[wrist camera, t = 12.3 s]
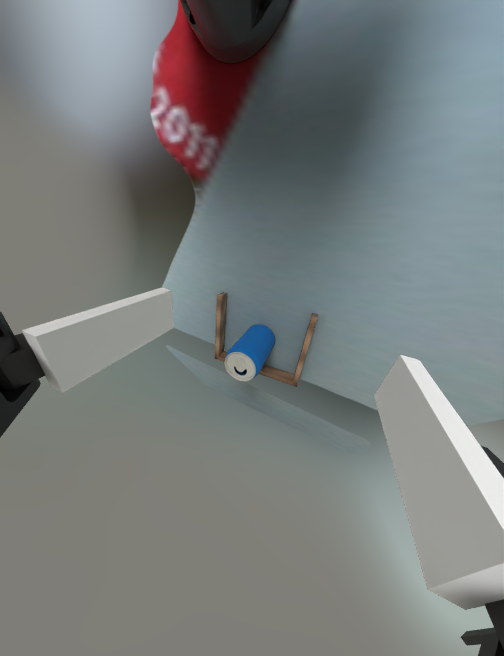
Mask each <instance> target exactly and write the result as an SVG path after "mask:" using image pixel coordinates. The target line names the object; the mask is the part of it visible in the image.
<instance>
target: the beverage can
mask: <svg viewBox="0 0 504 656" xmlns="http://www.w3.org/2000/svg"><path fill="white" fill-rule="evenodd" d="M274 343H275V337H274V334H273V332H272V331H271V330H270V329H269V328H268V327H266V326H264V325H260V324H258V325H253V326H252V327H250V328H249V329H248V330H247V331H246V333H245V334H244V335H243V336H242V337H241V338H240V339H239V340H238V341H237V342H236V343H235V344H234V345H233V347H232V348H231V349H230V350H229V351H228V352H227V355H226V359H225V368H226V370H227V372H228V373H229V374H230V375H231V376H232V377H233V378H235V379H237V380H239V381H249V380H251V379H252V378H254V377H255V376H257V375H258V373H259V372H260V370H261V368H262V366H263V364H264V363H265V361H266V359H267V357H268V355H269V353H270V351H271V350H272V348H273V346H274Z"/></svg>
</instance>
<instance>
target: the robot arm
mask: <svg viewBox="0 0 504 656" xmlns="http://www.w3.org/2000/svg"><path fill="white" fill-rule="evenodd" d="M289 2H290V0H181V3H182V7H183V10H184V12H185V15H186V17H187V20H188V22H189V24H190V26H191V28H192V30H193V31H194V33H195V35H196V36H197V38H198V39H199V41H200V42H201V44H202V45H203V47H204V48H205V50H206V51H207V52H208V53H209V54H210V55H211V56H212V57H214V58H215V59H217V60H219V61H221V62H224V63H238V62H241V61H244V60H246V59H248V58H250V57H251V56H253V55H254V54H255V53H257V52H258V51H259V50H260V49H261V48H262V47H263V46H264V45H265V44H266V42H267V41H268V40H269V39H270V37H271V36H272V35H273V33H274V32H275V30H276V29H277V27H278V25H279V23H280V22H281V20H282V18H283V16H284V14H285V11H286V9H287V7H288V4H289ZM172 328H174V320H173V306H172V293H171V290H168V289H165V288H159V289H156V290H152V291H149V292H146V293H143V294H139V295H136V296H133V297H129V298H126V299H123V300H120V301H116V302H113V303H110V304H107V305H103V306H100V307H97V308H93V309H90V310H87V311H84V312H80V313H77V314H74V315H71V316H67V317H64V318H61V319H57V320H55V321H51V322H48V323H44V324H41V325H38V326H35V327H31V328H28V329H25V330H22V332H23V333H22V334H18V335H14V334H13V332H12V331H11V329H10V327H9V325H8V323H7V322H6V320H5V318H4V316H3V314H2V313H1V312H0V437H1V436H2V435H3V433H4V432H5V431H6V429H7V428H8V427H9V426H10V424H11V423H12V422H13V420H14V419H15V418H16V416H17V415H18V413H20V411H21V410H22V409H23V407H24V406H25V405H26V403H27V402H28V401H29V400H30V398H31V397H32V396H33V394H34V393H35V392H36V391H37V389H38V388H39V386H40V381H39V378H41V377H43V376H46V378H47V380H48V382H49V383H50V385H51V386H52V387H54V388H55V389H57V390H59V391H61V392H65V391H67V390H68V389H70V388H72V387H73V386H75V385H77V384H78V383H80V382H82V381H84V380H85V379H87V378H89V377H90V376H92V375H94V374H95V373H97V372H99V371H101V370H102V369H104V368H106V367H108V366H109V365H111V364H113V363H114V362H116V361H118V360H119V359H121V358H123V357H124V356H126V355H128V354H130V353H131V352H133V351H135V350H137V349H138V348H140V347H142V346H143V345H145V344H147V343H148V342H150V341H152V340H154V339H155V338H157V337H159V336H160V335H162V334H164V333H165V332H167V331H169V330H171V329H172ZM374 397H375V401H376V404H377V408H378V411H379V415H380V419H381V422H382V426H383V430H384V433H385V437H386V440H387V444H388V447H389V451H390V455H391V459H392V462H393V465H394V469H395V473H396V477H397V480H398V484H399V488H400V491H401V495H402V498H403V502H404V506H405V509H406V512H407V517H408V520H409V524H410V528H411V531H412V535H413V538H414V542H415V546H416V549H417V553H418V557H419V560H420V563H421V567H422V571H423V575H424V578H425V582H426V586H427V589H428V590H430V591H432V592H434V593H435V594H437V595H439V596H441V597H443V598H445V599H446V600H448V601H450V602H452V603H454V604H456V605H458V606H460V607H461V608H463V609H465V610H467V609H471V608H476V607H480V606H486V609H487V611H488V614H489V616H490V618H491V621H492V623H493V625H494V628H488V629H481V630H473V631H467V632H465V633H464V634H463V635H462V636H461V638H462V640H463V641H464V642H465V644H466V645H477V644H481V647H480V651H479V654H478V656H504V463H503V462H502V461H500V459H499V458H498V457H496V456H495V455H494V454H493V453H492V452H491V451H490V450H489V449H488V448H485V447H483V446H480V445H479V443H478V442H477V441H476V440H475V438H474V436H473V435H472V434H471V432H470V431H469V429H468V428H467V427H466V425H465V424H464V422H463V421H462V420H461V418H460V417H459V415H458V414H457V413H456V411H455V410H454V408H453V407H452V406H451V404H450V403H449V401H448V400H447V399H446V397H445V396H444V394H443V393H442V392H441V390H440V389H439V387H438V386H437V385H436V383H435V382H434V380H433V379H432V378H431V376H430V375H429V373H428V372H427V371H426V369H425V368H424V366H423V365H422V364H421V362H420V361H419V360H417V359H414V358H410V357H406V356H403V355H400V356H399V357H398V359H397V360H396V362H395V364H394V365H393V367H392V368H391V370H390V371H389V373H388V375H387V376H386V378H385V379H384V381H383V382H382V384H381V385H380V387H379V389H378V390H377V392H376V393H375V395H374Z"/></svg>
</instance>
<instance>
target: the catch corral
mask: <svg viewBox="0 0 504 656" xmlns="http://www.w3.org/2000/svg"><path fill="white" fill-rule="evenodd" d="M226 306H227V293H224V292H223V293H220V294H218V295H217V315H216V341H215V359H218V360H220V361H223V362H225V359H226V355H227V352H224V337H225V322H226ZM317 317H318V314H313V313H312V316H311V320H310V323H309V327H308V330H307V334H306V337H305V341H304V344H303V348H302V351H301V355H300V358H299V362H298V365H297V369H296V372H295V375H294V374H291V373H288V372H285V371H282V370H279V369H276V368H273V367H270V366H267V365H264V364H263V366H262V368H261V370H260V372H259V373H258V374H261V375H264V376H267V377H270V378H273V379H276V380H279V381H282V382H284V383H287V384H290V385H293V386H297V383H298V380H299V377H300V374H301V370H302V367H303V364H304V361H305V357H306V354H307V351H308V347H309V344H310V341H311V338H312V334H313V331H314V328H315V324H316V321H317Z"/></svg>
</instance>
